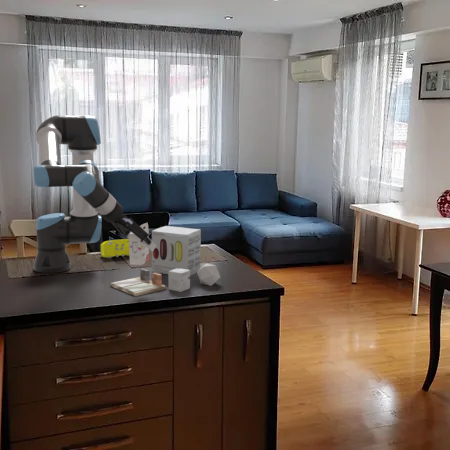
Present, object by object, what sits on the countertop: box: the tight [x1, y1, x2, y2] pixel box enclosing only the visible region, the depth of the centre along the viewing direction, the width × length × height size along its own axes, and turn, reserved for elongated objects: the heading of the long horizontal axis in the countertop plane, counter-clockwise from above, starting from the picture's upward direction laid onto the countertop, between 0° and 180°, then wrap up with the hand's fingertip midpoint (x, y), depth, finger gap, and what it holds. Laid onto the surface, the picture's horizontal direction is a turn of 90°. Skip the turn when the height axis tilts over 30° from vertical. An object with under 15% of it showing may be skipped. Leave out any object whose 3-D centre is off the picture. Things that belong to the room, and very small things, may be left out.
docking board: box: [109, 268, 167, 297], centre depth 224 cm, size 17×14×5 cm
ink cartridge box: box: [129, 222, 150, 266], centre depth 216 cm, size 9×5×15 cm, turn 168°
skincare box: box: [168, 268, 191, 293], centre depth 222 cm, size 6×6×7 cm
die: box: [196, 263, 221, 287], centre depth 230 cm, size 8×9×10 cm
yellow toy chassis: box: [100, 238, 130, 259], centre depth 273 cm, size 16×6×8 cm, turn 118°
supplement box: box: [151, 225, 202, 277], centre depth 247 cm, size 17×13×18 cm
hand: (146, 246), depth 218 cm, fingers closed on ink cartridge box, 8 cm apart
